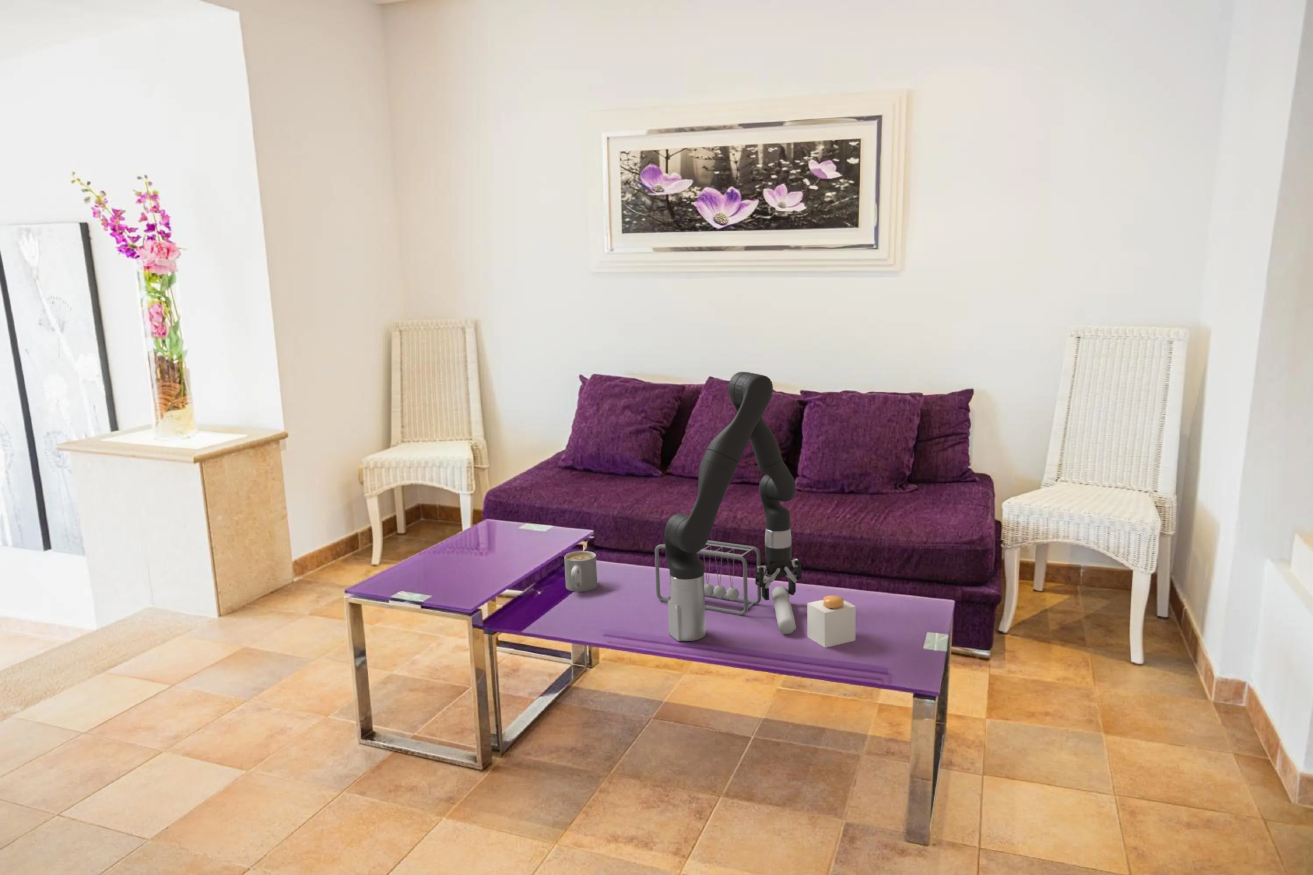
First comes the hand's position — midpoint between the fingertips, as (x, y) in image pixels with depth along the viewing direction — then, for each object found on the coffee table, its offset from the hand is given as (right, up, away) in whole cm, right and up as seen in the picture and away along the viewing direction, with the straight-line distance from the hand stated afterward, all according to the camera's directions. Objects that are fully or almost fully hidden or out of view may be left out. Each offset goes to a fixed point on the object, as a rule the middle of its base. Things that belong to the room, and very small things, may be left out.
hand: (779, 596), depth 262 cm
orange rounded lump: (+11, +1, -26) cm, 28 cm away
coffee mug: (-60, -1, +22) cm, 64 cm away
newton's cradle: (-20, -3, +6) cm, 21 cm away
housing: (+11, -7, -23) cm, 27 cm away
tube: (-2, -4, -9) cm, 10 cm away
